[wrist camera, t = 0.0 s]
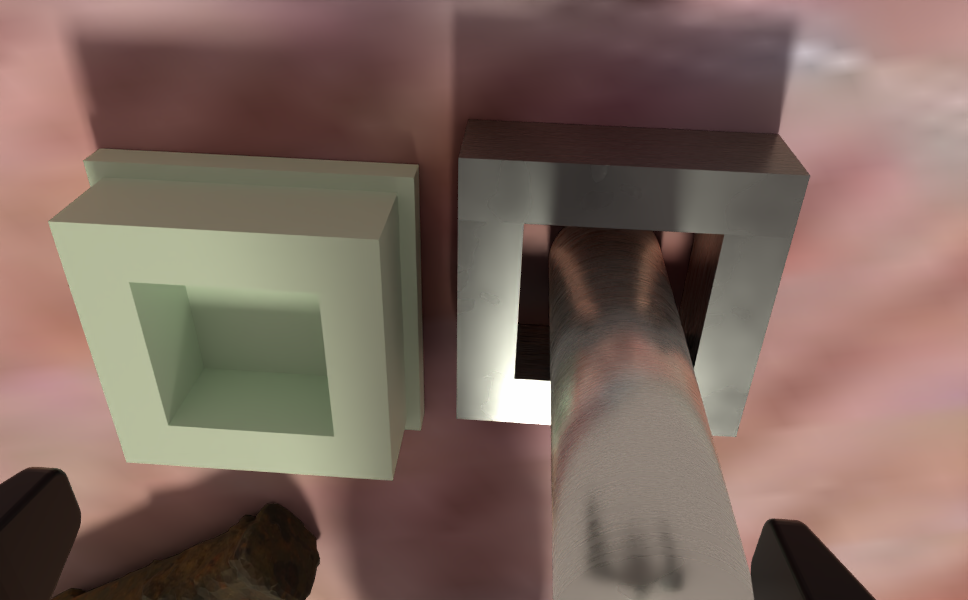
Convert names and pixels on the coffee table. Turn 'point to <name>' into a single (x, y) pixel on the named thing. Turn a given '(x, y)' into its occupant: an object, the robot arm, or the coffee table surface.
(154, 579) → the hand tool
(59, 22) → the coffee table surface
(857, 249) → the coffee table surface
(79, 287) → the container
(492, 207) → the socket
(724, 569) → the grey cylinder
